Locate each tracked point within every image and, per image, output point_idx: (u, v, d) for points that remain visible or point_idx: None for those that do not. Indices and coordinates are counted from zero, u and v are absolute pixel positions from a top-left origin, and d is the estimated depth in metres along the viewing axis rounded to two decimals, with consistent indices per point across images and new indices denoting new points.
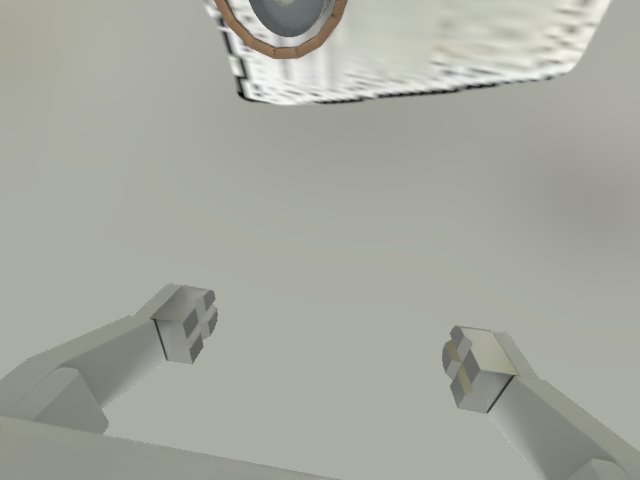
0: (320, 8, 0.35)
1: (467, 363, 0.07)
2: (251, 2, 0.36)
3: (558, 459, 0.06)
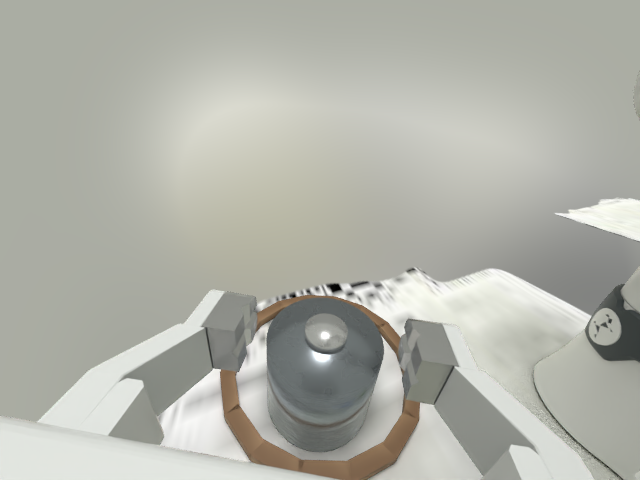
0: (321, 392, 0.20)
1: (413, 355, 0.07)
2: (293, 304, 0.28)
3: (490, 447, 0.06)
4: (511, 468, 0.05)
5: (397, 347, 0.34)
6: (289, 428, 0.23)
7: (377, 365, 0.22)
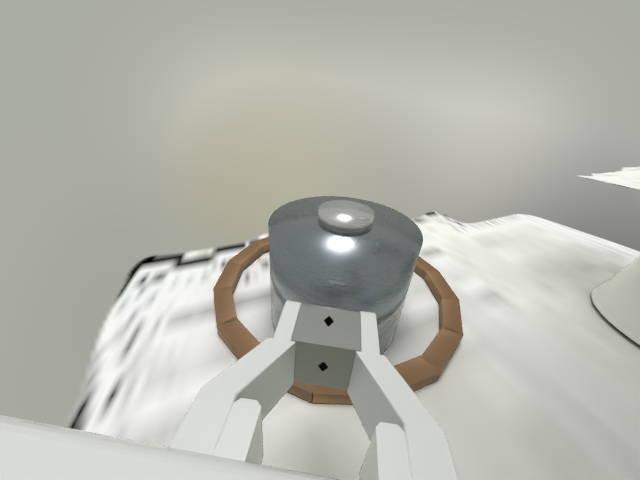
0: (346, 265, 0.14)
1: None
2: (301, 200, 0.22)
3: None
4: (375, 444, 0.05)
5: (425, 271, 0.28)
6: None
7: (417, 245, 0.17)
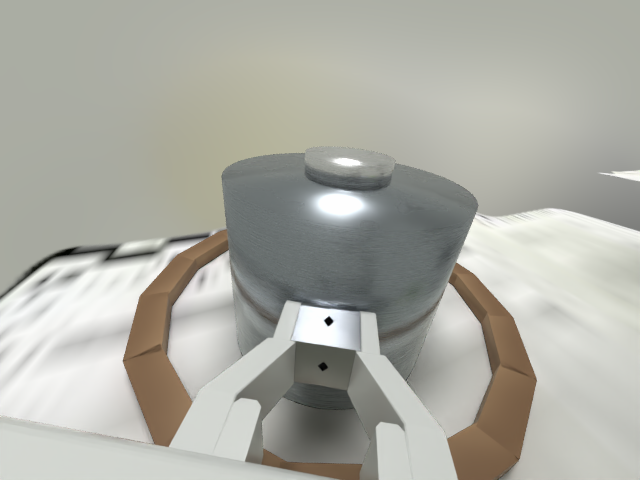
0: (352, 225, 0.07)
1: None
2: (283, 154, 0.15)
3: None
4: (375, 444, 0.05)
5: (456, 274, 0.20)
6: None
7: (470, 204, 0.10)
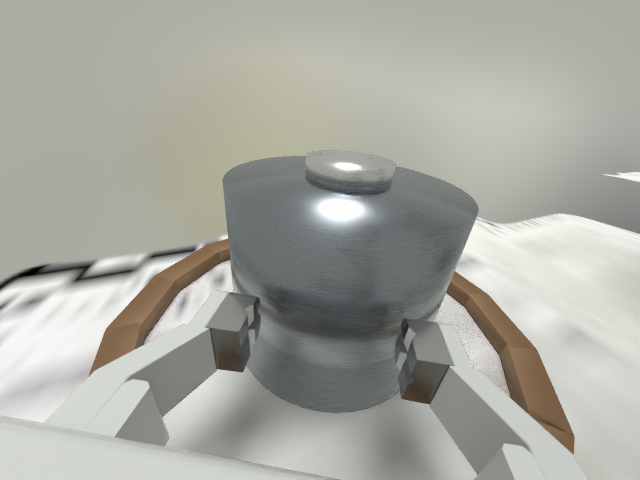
0: (353, 230, 0.07)
1: (409, 355, 0.07)
2: (284, 157, 0.15)
3: (485, 446, 0.06)
4: (504, 467, 0.05)
5: (468, 294, 0.18)
6: (274, 361, 0.11)
7: (471, 209, 0.10)
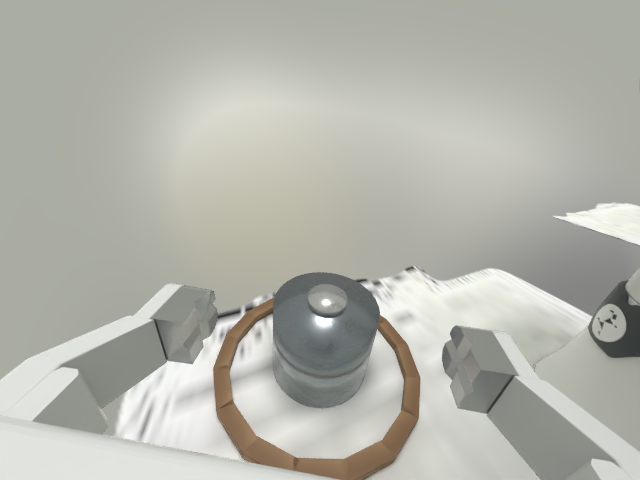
0: (324, 346, 0.22)
1: (467, 363, 0.07)
2: (296, 278, 0.30)
3: (558, 459, 0.06)
4: None
5: (396, 344, 0.33)
6: (294, 386, 0.25)
7: (374, 326, 0.25)
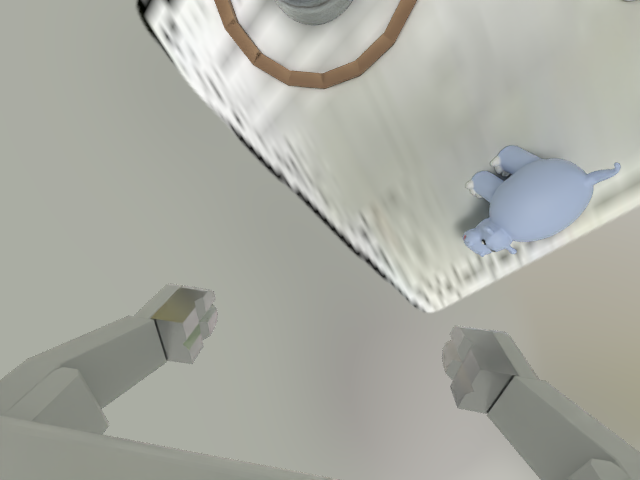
0: None
1: (466, 363, 0.07)
2: None
3: (558, 459, 0.06)
4: None
5: None
6: (301, 17, 0.27)
7: None
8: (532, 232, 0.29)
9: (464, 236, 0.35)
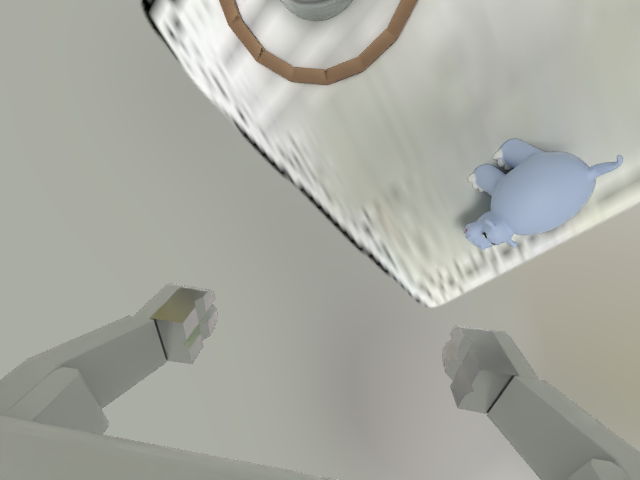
0: None
1: (467, 364, 0.07)
2: None
3: (558, 459, 0.06)
4: None
5: None
6: (305, 13, 0.27)
7: None
8: (533, 225, 0.29)
9: (465, 229, 0.35)
